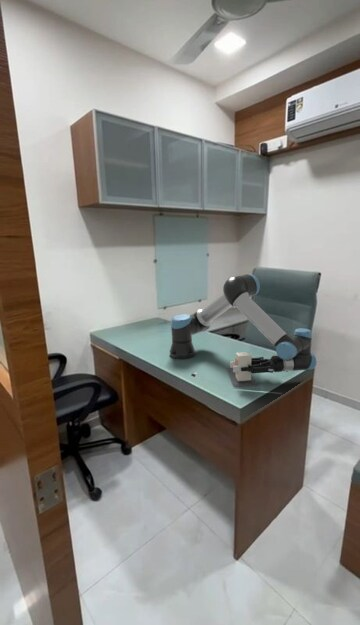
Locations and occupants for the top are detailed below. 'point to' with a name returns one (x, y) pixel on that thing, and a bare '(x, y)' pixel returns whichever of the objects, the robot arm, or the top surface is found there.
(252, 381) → the mat
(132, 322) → the top surface
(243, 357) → the card box
